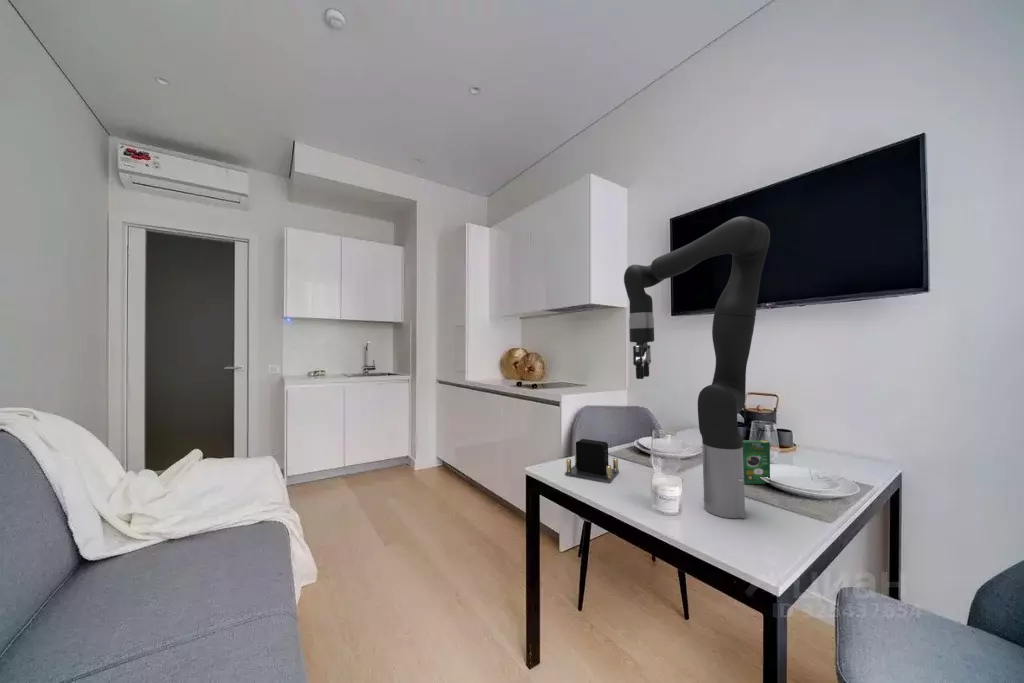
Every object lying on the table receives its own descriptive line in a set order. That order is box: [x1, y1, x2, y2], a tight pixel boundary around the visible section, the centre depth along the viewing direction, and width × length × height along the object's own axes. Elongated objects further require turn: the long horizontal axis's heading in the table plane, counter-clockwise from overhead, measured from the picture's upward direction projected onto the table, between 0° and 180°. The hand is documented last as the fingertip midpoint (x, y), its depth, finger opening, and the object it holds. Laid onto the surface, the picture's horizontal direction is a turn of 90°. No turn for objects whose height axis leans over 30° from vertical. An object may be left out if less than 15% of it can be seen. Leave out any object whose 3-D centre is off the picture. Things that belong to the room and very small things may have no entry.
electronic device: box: [575, 438, 610, 475], centre depth 125 cm, size 4×10×10 cm, turn 55°
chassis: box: [565, 452, 620, 484], centre depth 124 cm, size 15×11×5 cm
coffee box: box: [743, 439, 771, 485], centre depth 114 cm, size 8×3×13 cm, turn 87°
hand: (642, 377), depth 118 cm, fingers open, 8 cm apart
